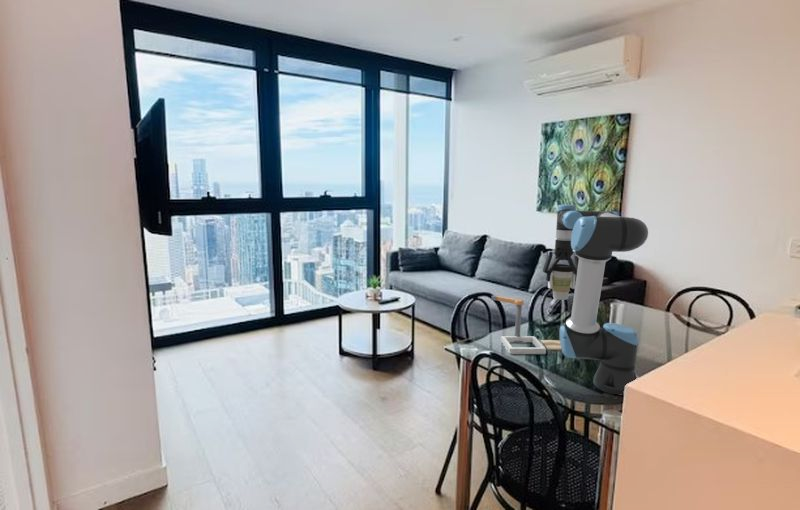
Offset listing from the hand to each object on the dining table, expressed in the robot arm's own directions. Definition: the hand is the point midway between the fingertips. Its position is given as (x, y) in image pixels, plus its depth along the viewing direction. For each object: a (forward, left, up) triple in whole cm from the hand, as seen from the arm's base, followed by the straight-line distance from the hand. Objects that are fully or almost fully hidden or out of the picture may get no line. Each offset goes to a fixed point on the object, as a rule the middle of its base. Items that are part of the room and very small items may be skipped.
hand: (561, 288), depth 204 cm
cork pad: (0, 0, -28) cm, 28 cm away
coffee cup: (0, 0, -5) cm, 5 cm away
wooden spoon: (+10, +21, -9) cm, 25 cm away
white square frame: (-1, +17, -28) cm, 32 cm away
